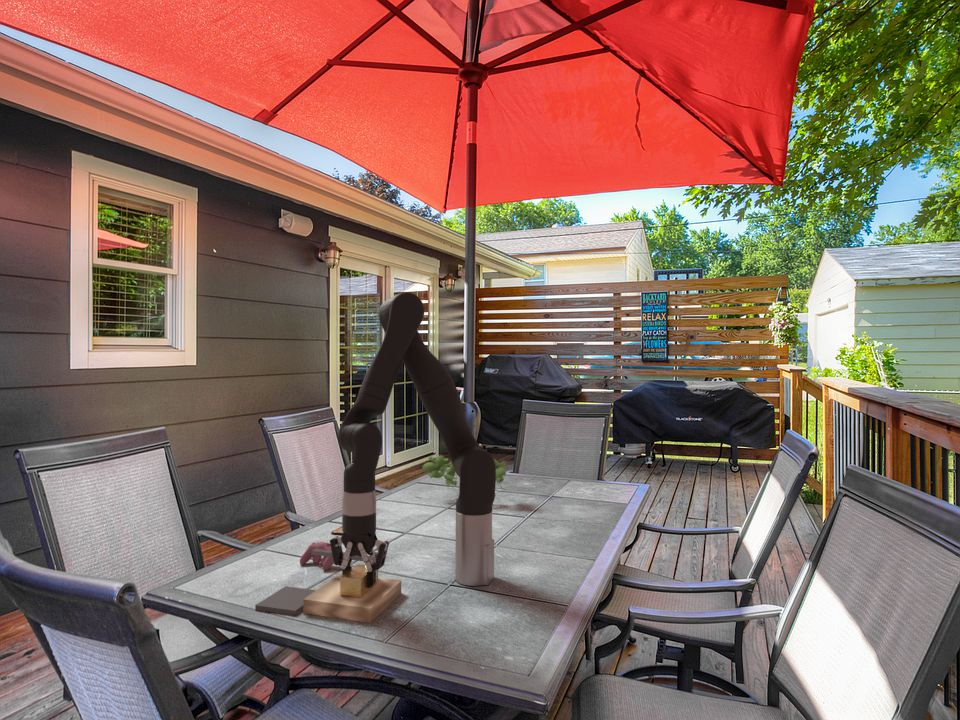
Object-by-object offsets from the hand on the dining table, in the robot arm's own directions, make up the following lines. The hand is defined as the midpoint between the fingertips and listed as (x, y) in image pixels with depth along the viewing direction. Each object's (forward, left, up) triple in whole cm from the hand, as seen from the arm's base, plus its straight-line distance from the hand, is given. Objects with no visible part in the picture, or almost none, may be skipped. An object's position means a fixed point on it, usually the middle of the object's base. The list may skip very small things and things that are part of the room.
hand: (358, 585), depth 128 cm
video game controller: (+22, -19, -4) cm, 29 cm away
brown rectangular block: (0, 0, -1) cm, 1 cm away
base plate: (+1, 0, -4) cm, 4 cm away
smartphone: (+29, -51, -5) cm, 59 cm away
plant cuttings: (+4, -99, -4) cm, 99 cm away
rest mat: (+15, +4, -4) cm, 16 cm away
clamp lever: (+7, -7, -1) cm, 10 cm away
